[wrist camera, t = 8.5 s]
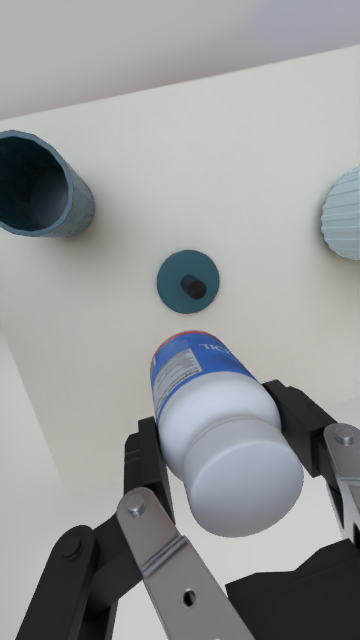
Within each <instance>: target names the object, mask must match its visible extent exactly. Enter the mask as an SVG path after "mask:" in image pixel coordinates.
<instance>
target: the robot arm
mask: <svg viewBox="0 0 360 640" xmlns="http://www.w3.org/2000/svg"><path fill="white" fill-rule="evenodd" d="M262 386H263V387H264V388H265V390H266V391H267V392H268V393H269V395H270V396H271V397H272V399H273V400H274V402H275V404H276V406H277V408H278V411H279V415H280V420H281V433H282V435H283V436H284V438H285V440H286V441H287V443H288V444H289V446H290V447H291V448H292V450H293V451H294V452H295V454H296V455H297V457H298V459H299V460H300V462H301V463H302V465H303V466H304V467H305V469H306V470H307V471H308V473H309V474H310V475H311V476H312V477H313V478H314V477H317V476H320V475H322V476H323V477H324V478H325V479H326V487H327V491H328V494H329V497H330V500H331V503H332V507H333V510H334V513H335V516H336V519H337V522H338V526H339V528H340V532H341V535H342V539H343V540H342V541H339V542H336V543H334V544H331V545H328V546H326V547H323V548H320V549H319V550H318V551H316V552H315V553H314V554H313V555H312V556H311V557H310V558H309V559H307V560H306V561H305V562H304V563H303V564H302V565H300V566H299V567H298V568H297V569H296V570H294V571H288V572H261V573H254V574H252V575H249V576H246V577H244V578H241V579H239V580H236V581H233V582H231V583H228V584H226V585H225V587H226V591H227V595H228V598H227V596H226V595H225V593H224V592H223V590H222V589H221V587H220V586H219V584H218V583H217V581H216V580H215V578H214V577H213V575H212V574H211V572H210V571H209V569H208V568H207V566H206V565H205V563H204V562H203V560H202V559H201V558H200V556H199V554H198V553H197V551H196V550H195V548H194V547H193V545H192V544H191V542H190V541H189V540H188V538H187V537H186V536H182V535H181V534H180V533H179V531H178V530H177V528H176V527H175V524H176V523H175V518H174V511H173V505H172V499H171V493H170V487H169V481H168V474H167V468H166V462H165V460H164V458H163V455H162V452H161V448H160V443H159V437H158V430H157V425H156V422H155V419H154V416H152V417H148V418H145V419H142V420H138V429H139V432H138V433H134V434H131V435H129V437H128V439H127V441H126V443H125V458H124V462H125V464H124V496H123V498H122V499H121V500H120V502H119V504H118V507H117V511H116V513H115V514H114V515H113V516H112V517H111V518H110V519H108V520H107V521H106V522H104V523H103V524H101V525H100V526H98V527H97V528H95V529H94V530H92V529H91V528H90V527H88V526H86V525H79V526H76V527H73V528H71V529H70V530H68V531H67V532H65V533H64V534H63V535H62V536H61V537H60V539H59V540H58V541H57V543H56V544H55V546H54V547H53V549H52V551H51V554H50V556H49V559H48V561H47V563H46V566H45V568H44V571H43V573H42V576H41V578H40V581H39V583H38V585H37V588H36V591H35V593H34V595H33V598H32V600H31V603H30V605H29V607H28V610H27V612H26V615H25V617H24V620H23V622H22V624H21V627H20V629H19V632H18V634H17V637H16V639H15V640H112V634H113V628H114V622H115V617H116V611H117V606H118V600H119V598H121V597H122V596H123V595H124V594H126V593H127V592H128V591H129V590H130V589H131V588H133V587H134V586H135V585H136V584H137V583H139V582H140V581H141V580H143V582H144V584H145V587H146V589H147V591H148V594H149V596H150V598H151V601H152V603H153V605H154V608H155V610H156V612H157V614H158V617H159V619H160V621H161V624H162V626H163V629H164V631H165V633H166V635H167V638H168V640H360V430H359V429H357V428H356V427H354V426H351V425H348V424H343V423H338V422H337V421H335V420H334V419H333V418H332V417H331V416H330V415H328V414H327V413H326V412H325V411H324V410H323V409H322V408H321V407H319V406H318V405H317V404H315V402H314V401H313V400H311V399H309V397H308V396H307V395H306V394H305V393H303V392H302V391H301V390H299V389H296V388H294V387H292V386H290V387H285V386H284V385H283V384H282V383H281V382H280V381H279V380H277V379H276V380H273V381H269V382H266V383H263V384H262Z"/></svg>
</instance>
